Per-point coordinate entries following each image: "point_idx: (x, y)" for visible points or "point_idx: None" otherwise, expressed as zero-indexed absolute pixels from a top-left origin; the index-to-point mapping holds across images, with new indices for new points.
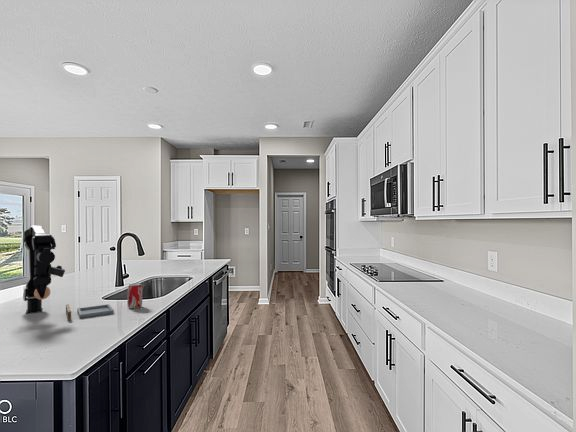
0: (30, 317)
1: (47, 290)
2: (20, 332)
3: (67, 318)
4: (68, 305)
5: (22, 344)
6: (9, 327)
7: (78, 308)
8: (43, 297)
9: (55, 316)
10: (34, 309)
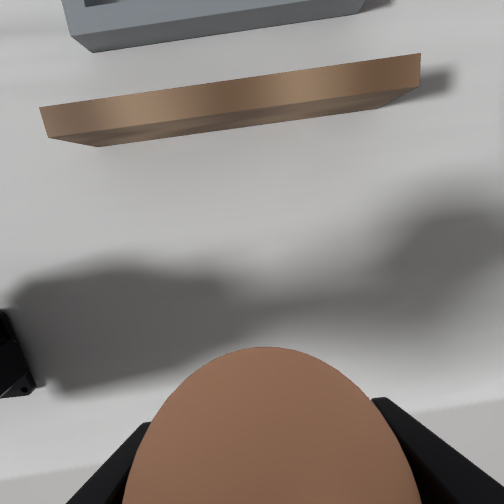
0: (143, 352)
1: (382, 468)
2: (478, 347)
3: (327, 114)
4: (97, 107)
5: None
6: None
7: (85, 21)
8: (388, 400)
9: (182, 211)
10: (9, 365)
